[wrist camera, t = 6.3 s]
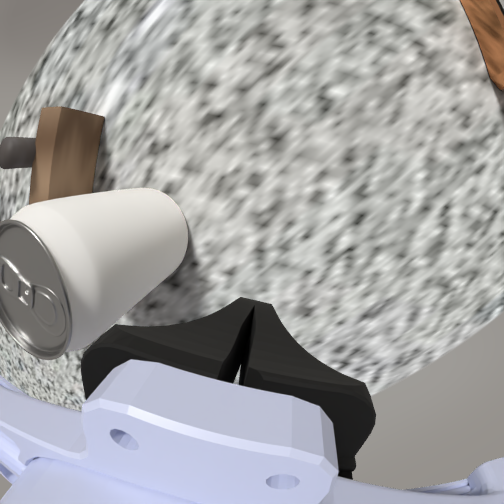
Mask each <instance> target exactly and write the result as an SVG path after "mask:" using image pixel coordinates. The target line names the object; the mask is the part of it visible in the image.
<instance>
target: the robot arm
mask: <svg viewBox="0 0 504 504" xmlns="http://www.w3.org/2000/svg"><path fill="white" fill-rule="evenodd" d="M240 365H241V369H240V377H239V385H236V384H233V382H234V380H235V377H236V375H237V372H238V370H239V367H240ZM81 375H82V381H83V387H84V392H85V397H86V401H85V402H84V404H83V405H82V411H78V410H74V409H70V408H66V407H62V406H59V405H55V404H52V403H48V402H45V401H42V400H39V399H35V398H32V397H30V396H28V395H27V394H25V393H24V392H22V391H21V390H20V389H18V388H17V387H15V386H14V385H13V384H11V383H10V382H9V381H7V380H6V379H5V378H3V377H2V376H1V375H0V474H1V475H2V476H4V477H5V478H6V479H7V480H8V481H9V482H10V483H11V484H12V486H11V487H10V489H9V490H8V491H7V492H6V494H5V495H4V496H3V498H2V499H1V500H0V504H504V457H501V458H498V459H495V460H491V461H487V462H485V463H482V464H481V465H480V466H478V467H477V468H476V469H475V470H474V471H473V472H472V473H471V474H470V475H469V477H468V478H467V479H463V480H459V481H455V482H451V483H445V484H440V485H434V486H429V487H421V488H414V489H406V490H400V489H394V488H388V487H383V486H377V485H373V484H368V483H363V482H359V481H355V480H353V478H352V471H354V470H355V468H356V462H355V455H356V453H357V452H358V451H359V449H360V448H361V447H362V445H363V444H364V442H365V441H366V439H367V438H368V436H369V435H370V434H371V431H372V429H373V427H374V425H375V419H376V413H375V410H374V407H373V403H372V400H371V396H370V394H369V391H368V389H367V387H366V384H365V383H364V382H361V381H359V380H356V379H354V378H351V377H349V376H346V375H344V374H342V373H339V372H338V371H336V370H334V369H332V368H330V367H328V366H327V365H325V364H324V363H322V362H320V361H319V360H318V359H316V358H315V357H313V356H312V355H311V354H309V353H308V352H307V351H306V350H305V349H304V348H303V347H302V346H300V345H299V344H298V343H297V342H296V341H295V339H294V338H293V337H292V336H291V335H290V334H289V332H288V331H287V330H286V328H285V327H284V325H283V324H282V322H281V321H280V319H279V317H278V315H277V314H276V312H275V310H274V308H273V306H272V304H269V303H264V302H260V301H256V300H251V299H247V298H243V297H240V298H238V299H237V300H235V301H234V302H232V303H231V304H229V305H227V306H226V307H224V308H222V309H221V310H219V311H217V312H215V313H213V314H210V315H208V316H206V317H203V318H200V319H197V320H194V321H191V322H186V323H181V324H175V325H169V326H155V327H140V326H128V325H118V324H115V325H114V326H113V327H111V328H110V329H109V330H108V331H107V332H105V333H104V334H103V335H102V336H101V337H100V338H99V339H98V340H97V341H96V342H95V343H94V344H93V345H91V346H90V347H89V348H88V349H87V350H86V352H85V353H84V354H83V357H82V360H81Z"/></svg>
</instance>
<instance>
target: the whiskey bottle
mask: <svg viewBox="0 0 504 504" xmlns="http://www.w3.org/2000/svg"><path fill="white" fill-rule="evenodd" d="M460 1H461V3H462V5H463V7H464V9H465V11H466V13H467V15H468V18H469V20H470V22H471V25H472V27H473V29H474V32H475V34H476V37H477V40H478V42H479V45H480V48H481V50H482V53H483V56H484V59H485V62H486V65H487V69H488V72H489V75H490V78H491V79H492V81H493V82H494V83H495V84H496V85H497V87H498V88H499V89H500V90H503V91H504V0H460Z"/></svg>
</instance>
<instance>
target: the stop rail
mask: <svg viewBox="0 0 504 504" xmlns="http://www.w3.org/2000/svg"><path fill="white" fill-rule="evenodd" d="M103 122H104V117H103V116H99V115H95V114H91V113H87V112H83V111H79V110H75V109H71V108H66V107H47V108H42V110H41V115H40V120H39V125H38V130H37V136H36V138H23V137H6V138H5V139H4V140H3V141H2V143H1V145H0V166H1V168H3V169H12V168H28V167H32V173H31V184H30V198H29V205H30V204H33V203H37V202H42V201H47V200H52V199H58V198H64V197H70V196H77V195H84V194H91V193H92V191H93V182H94V175H95V167H96V161H97V154H98V148H99V143H100V137H101V132H102V127H103Z"/></svg>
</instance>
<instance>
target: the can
mask: <svg viewBox="0 0 504 504" xmlns="http://www.w3.org/2000/svg"><path fill="white" fill-rule="evenodd" d="M187 244H188V228H187V224H186V220H185V218H184V215H183V213H182V211H181V210H180V208H179V207H178V205H177V204H176V203H175V202H174V201H173V200H172V199H171V198H170V197H169V196H167V195H166V194H164V193H163V192H161V191H158V190H155V189H151V188H134V189H123V190H114V191H106V192H98V193H91V194H84V195H77V196H70V197H64V198H58V199H52V200H47V201H42V202H37V203H33V204H30V205H28V206H25V207H23V208H22V209H20V210H19V211H18V212H17V213H15V214H14V215H13V216H12V217H11V219H10V220H4V221H2V222H0V322H1V324H2V325H3V327H4V328H5V330H6V331H7V333H8V334H9V335H10V336H11V338H12V339H13V340H14V341H15V342H16V343H17V344H18V345H19V346H20V347H21V348H23V349H24V350H25V351H26V352H28V353H29V354H31V355H33V356H35V357H37V358H40V359H44V360H53V359H57V358H59V357H60V356H62V355H63V354H64V353H65V352H69V351H75V350H79V349H82V348H84V347H86V346H88V345H89V344H91V343H92V342H93V341H94V340H96V339H97V338H98V337H99V336H100V335H102V334H103V333H104V332H105V331H106V330H107V329H108V328H110V327H111V326H112V325H113V324H114V323H115V322H116V321H117V320H119V319H120V318H121V317H122V316H123V315H124V314H125V313H127V312H128V311H129V310H130V309H131V308H132V307H133V306H135V305H136V304H137V303H138V302H139V301H140V300H141V299H143V298H144V297H145V296H146V295H147V294H148V293H149V292H151V291H152V290H153V289H154V288H155V287H156V286H158V285H159V284H160V283H161V282H162V281H163V280H164V279H166V278H167V277H168V276H169V275H170V274H171V273H172V272H174V271H175V270H176V269H177V268H178V267H179V265H180V264H181V262H182V261H183V258H184V256H185V253H186V249H187Z"/></svg>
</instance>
